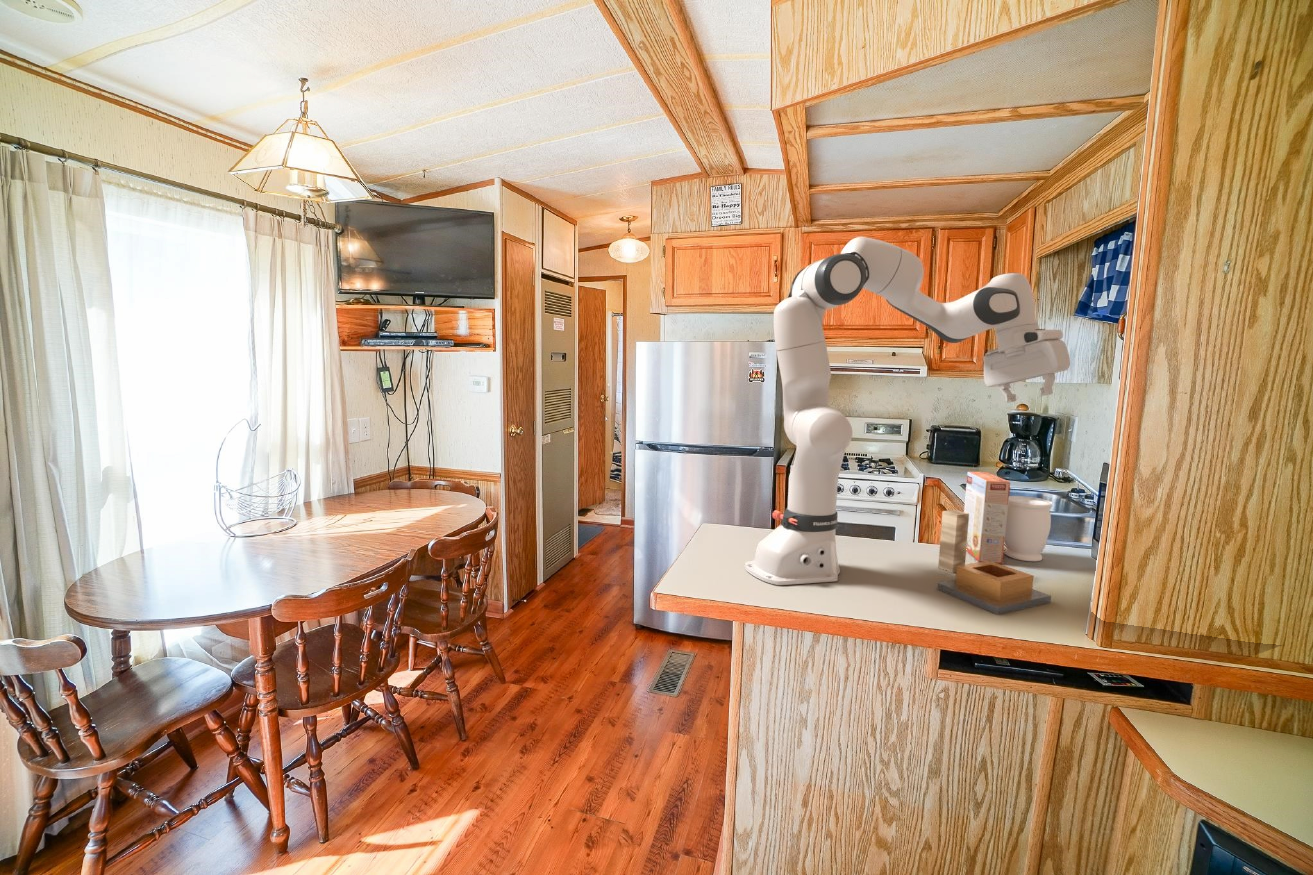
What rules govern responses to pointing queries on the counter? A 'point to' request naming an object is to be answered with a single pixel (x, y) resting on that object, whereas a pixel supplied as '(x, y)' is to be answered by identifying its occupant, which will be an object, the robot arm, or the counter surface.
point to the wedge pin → (953, 540)
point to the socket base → (994, 587)
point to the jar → (1027, 527)
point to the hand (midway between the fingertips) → (1028, 398)
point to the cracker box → (986, 515)
